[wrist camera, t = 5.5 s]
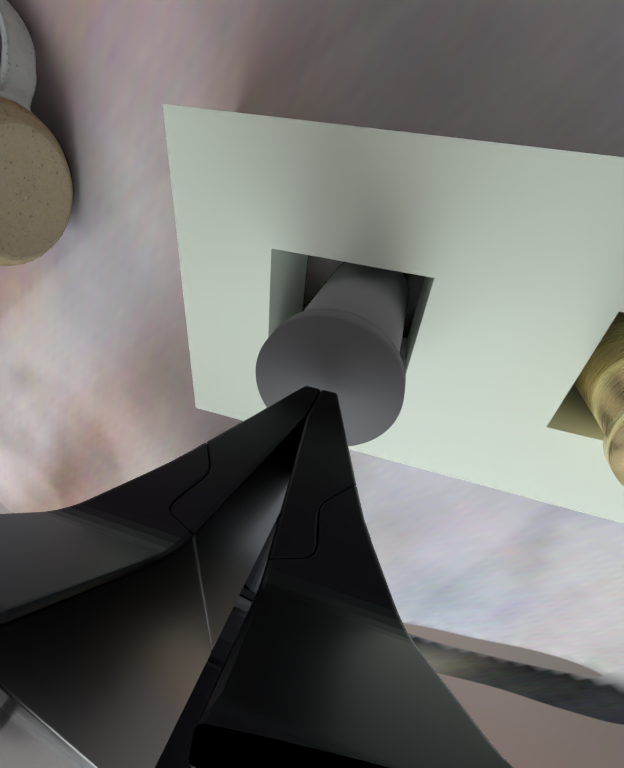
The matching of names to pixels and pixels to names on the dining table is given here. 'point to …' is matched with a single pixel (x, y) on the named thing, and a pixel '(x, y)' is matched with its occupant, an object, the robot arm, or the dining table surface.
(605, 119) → the dining table surface
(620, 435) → the brass plug
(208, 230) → the block
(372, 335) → the graphite plug
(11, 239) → the ceramic mug
